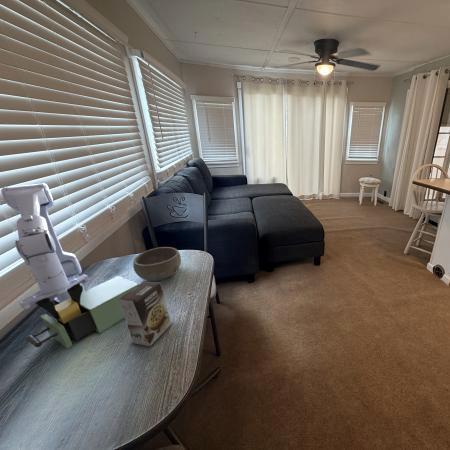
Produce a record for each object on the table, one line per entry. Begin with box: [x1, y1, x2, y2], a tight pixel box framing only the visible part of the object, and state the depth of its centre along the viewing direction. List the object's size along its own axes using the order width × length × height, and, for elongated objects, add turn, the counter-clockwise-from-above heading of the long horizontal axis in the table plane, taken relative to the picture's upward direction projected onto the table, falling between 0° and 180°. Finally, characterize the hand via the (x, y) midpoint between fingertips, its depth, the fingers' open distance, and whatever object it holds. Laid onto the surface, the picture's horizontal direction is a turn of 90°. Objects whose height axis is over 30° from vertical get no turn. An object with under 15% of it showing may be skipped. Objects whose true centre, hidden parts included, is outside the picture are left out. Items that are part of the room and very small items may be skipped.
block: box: [54, 299, 82, 323], centre depth 72 cm, size 4×4×4 cm
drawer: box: [26, 307, 97, 349], centre depth 73 cm, size 18×11×7 cm, turn 154°
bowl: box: [132, 246, 182, 282], centre depth 104 cm, size 17×18×10 cm
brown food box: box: [119, 280, 172, 347], centre depth 72 cm, size 9×6×16 cm
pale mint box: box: [70, 275, 140, 333], centre depth 82 cm, size 15×13×9 cm
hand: (67, 312), depth 72 cm, fingers closed on block, 4 cm apart
